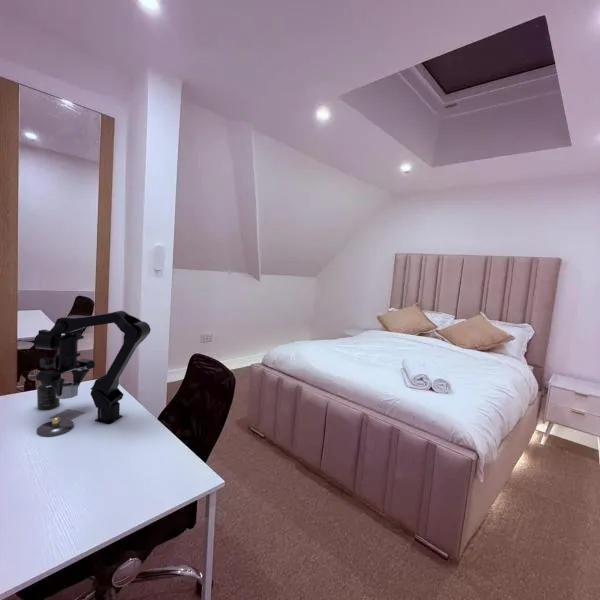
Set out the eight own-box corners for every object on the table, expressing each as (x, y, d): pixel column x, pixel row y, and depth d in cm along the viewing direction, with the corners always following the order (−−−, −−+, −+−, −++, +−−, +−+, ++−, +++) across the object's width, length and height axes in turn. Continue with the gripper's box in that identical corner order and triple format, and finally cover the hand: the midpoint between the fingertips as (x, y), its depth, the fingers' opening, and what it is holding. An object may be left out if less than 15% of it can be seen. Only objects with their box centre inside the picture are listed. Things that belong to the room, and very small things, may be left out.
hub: (81, 425, 114) (81, 414, 113) (54, 440, 104) (54, 427, 104) (57, 420, 116) (57, 409, 115) (28, 434, 106) (28, 422, 106)
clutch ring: (82, 393, 121) (82, 383, 121) (66, 400, 115) (66, 389, 115) (67, 390, 123) (67, 380, 122) (51, 397, 116) (51, 386, 116)
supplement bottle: (40, 404, 127) (40, 374, 125) (61, 402, 130) (61, 373, 128) (34, 412, 120) (34, 380, 119) (57, 410, 123) (57, 379, 122)
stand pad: (85, 413, 123) (85, 412, 123) (66, 422, 115) (66, 421, 115) (68, 409, 124) (68, 408, 124) (48, 418, 117) (48, 418, 117)
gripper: (72, 342, 128) (71, 380, 129) (23, 353, 110) (22, 398, 111) (96, 346, 126) (95, 385, 127) (50, 358, 107) (49, 403, 109)
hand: (67, 392), depth 119 cm, fingers closed on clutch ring, 6 cm apart
